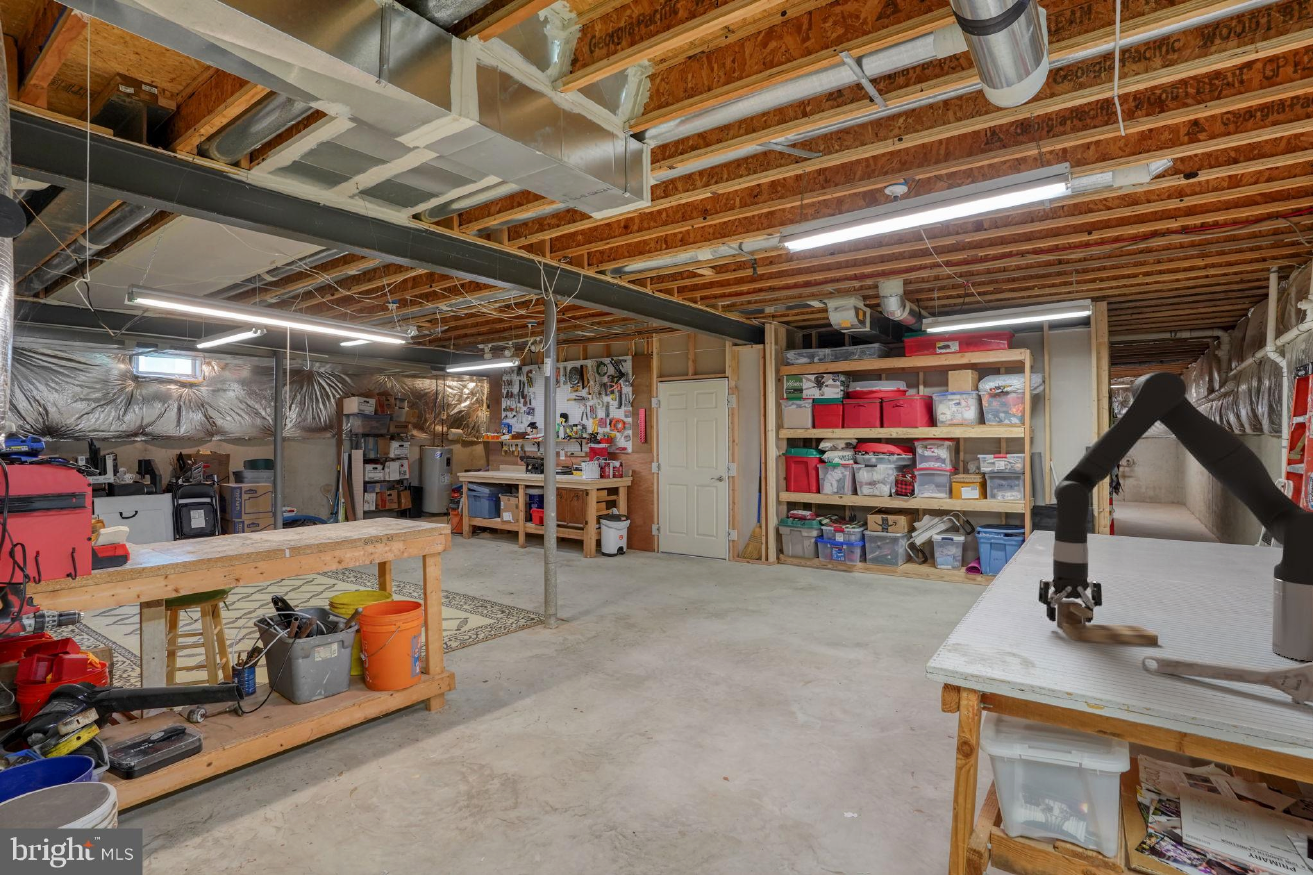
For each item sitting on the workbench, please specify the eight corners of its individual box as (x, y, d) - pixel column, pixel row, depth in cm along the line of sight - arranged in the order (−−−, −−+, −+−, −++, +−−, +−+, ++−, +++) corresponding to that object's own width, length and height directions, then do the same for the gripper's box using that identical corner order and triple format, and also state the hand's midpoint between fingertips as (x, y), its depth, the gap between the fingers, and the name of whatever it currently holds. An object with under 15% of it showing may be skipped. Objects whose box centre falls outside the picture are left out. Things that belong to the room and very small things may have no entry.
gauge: (1073, 627, 163) (1073, 600, 163) (1096, 640, 153) (1096, 611, 153) (1057, 626, 164) (1057, 599, 164) (1078, 639, 154) (1079, 611, 154)
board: (1138, 634, 157) (1138, 625, 157) (1157, 644, 150) (1158, 634, 150) (1062, 632, 159) (1062, 623, 159) (1078, 641, 152) (1078, 632, 152)
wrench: (1145, 680, 136) (1349, 709, 115) (1143, 683, 135) (1350, 713, 114) (1140, 643, 137) (1343, 665, 115) (1138, 645, 136) (1343, 667, 114)
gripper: (1048, 561, 158) (1048, 625, 158) (1109, 562, 157) (1108, 626, 157) (1033, 555, 165) (1033, 616, 166) (1091, 556, 164) (1090, 617, 164)
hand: (1069, 621), depth 161 cm, fingers open, 8 cm apart
